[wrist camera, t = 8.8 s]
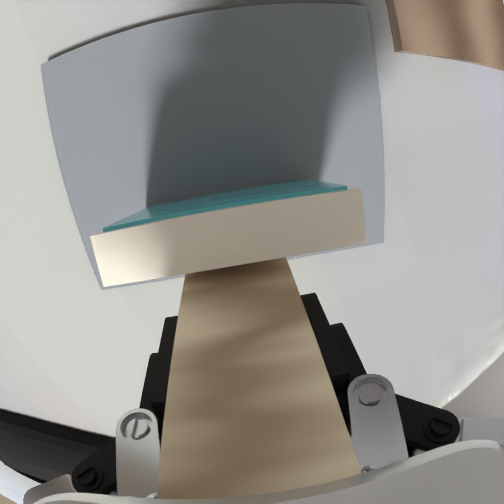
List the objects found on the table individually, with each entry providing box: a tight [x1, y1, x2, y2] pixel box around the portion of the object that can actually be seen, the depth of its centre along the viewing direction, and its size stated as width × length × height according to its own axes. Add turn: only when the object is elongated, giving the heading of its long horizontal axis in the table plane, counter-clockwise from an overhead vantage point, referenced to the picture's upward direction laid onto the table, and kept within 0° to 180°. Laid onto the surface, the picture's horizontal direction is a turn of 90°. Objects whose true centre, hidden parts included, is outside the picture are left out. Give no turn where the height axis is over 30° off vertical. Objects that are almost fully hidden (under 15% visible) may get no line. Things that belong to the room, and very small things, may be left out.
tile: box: [90, 180, 366, 287], centre depth 15 cm, size 10×2×8 cm, turn 98°
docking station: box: [0, 410, 112, 484], centre depth 33 cm, size 25×41×5 cm, turn 83°
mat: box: [41, 3, 385, 290], centre depth 17 cm, size 20×16×1 cm
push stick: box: [157, 257, 361, 499], centre depth 10 cm, size 4×4×11 cm
